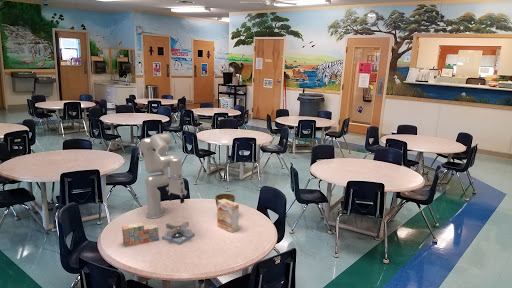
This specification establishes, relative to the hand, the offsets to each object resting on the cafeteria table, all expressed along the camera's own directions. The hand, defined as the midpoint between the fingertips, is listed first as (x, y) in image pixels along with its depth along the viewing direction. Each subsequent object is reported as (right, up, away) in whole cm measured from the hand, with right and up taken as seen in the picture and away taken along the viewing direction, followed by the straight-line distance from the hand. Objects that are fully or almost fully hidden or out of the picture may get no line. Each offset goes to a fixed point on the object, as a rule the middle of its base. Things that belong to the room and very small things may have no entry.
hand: (176, 201), depth 242 cm
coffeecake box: (+32, -22, +18) cm, 43 cm away
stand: (+1, -24, +3) cm, 25 cm away
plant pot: (+29, -18, +38) cm, 51 cm away
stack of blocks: (-22, -26, -4) cm, 34 cm away
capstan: (+1, -22, +2) cm, 22 cm away
